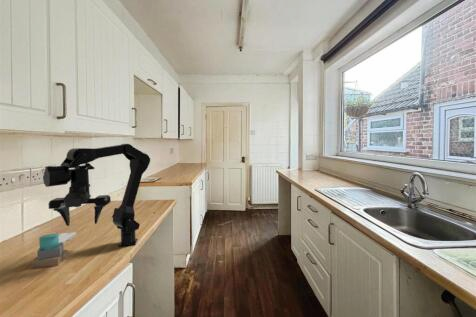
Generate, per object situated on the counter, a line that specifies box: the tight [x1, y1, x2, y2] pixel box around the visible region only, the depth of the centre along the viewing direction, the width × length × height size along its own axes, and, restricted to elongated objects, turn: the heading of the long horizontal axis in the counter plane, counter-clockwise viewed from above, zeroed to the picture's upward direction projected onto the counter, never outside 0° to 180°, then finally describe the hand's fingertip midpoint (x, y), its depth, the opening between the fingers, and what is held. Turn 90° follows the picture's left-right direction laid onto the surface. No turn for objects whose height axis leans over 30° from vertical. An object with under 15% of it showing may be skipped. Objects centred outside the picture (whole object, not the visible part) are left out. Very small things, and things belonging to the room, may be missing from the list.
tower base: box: [31, 249, 69, 269], centre depth 92 cm, size 8×8×3 cm
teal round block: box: [38, 233, 59, 250], centre depth 91 cm, size 6×6×4 cm
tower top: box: [36, 242, 65, 260], centre depth 92 cm, size 6×6×3 cm
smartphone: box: [58, 231, 78, 245], centre depth 114 cm, size 7×1×15 cm
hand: (82, 224), depth 93 cm, fingers open, 9 cm apart
